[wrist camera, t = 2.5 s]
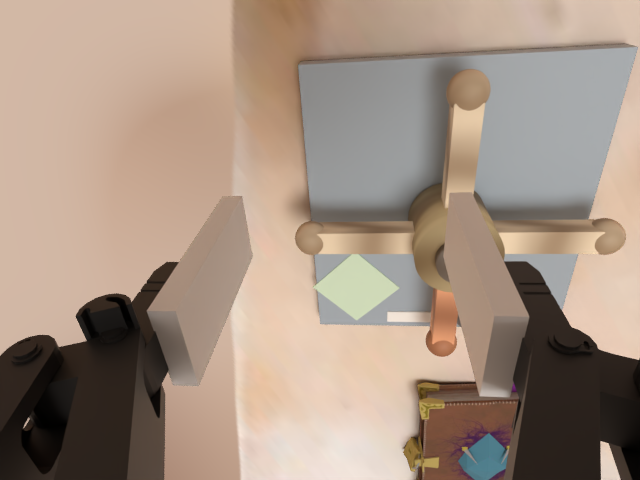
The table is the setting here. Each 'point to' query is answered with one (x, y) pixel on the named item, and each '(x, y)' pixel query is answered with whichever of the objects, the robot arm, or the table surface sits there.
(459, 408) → the book
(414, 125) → the plate
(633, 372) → the robot arm
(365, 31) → the table surface
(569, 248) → the capstan
